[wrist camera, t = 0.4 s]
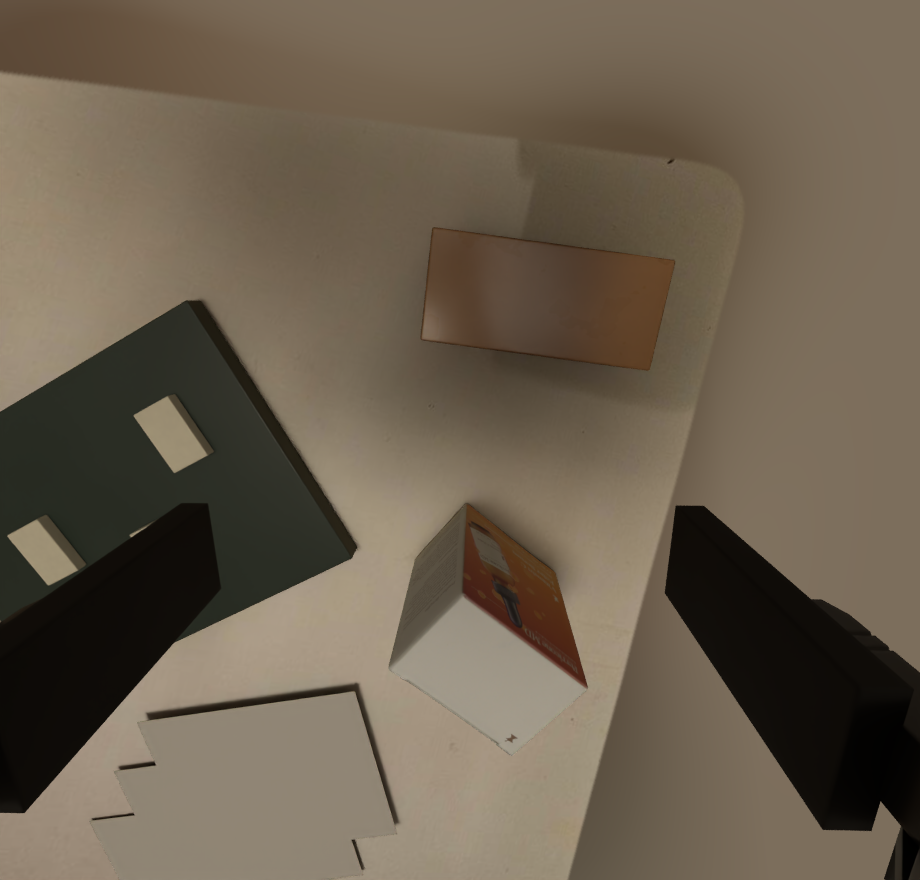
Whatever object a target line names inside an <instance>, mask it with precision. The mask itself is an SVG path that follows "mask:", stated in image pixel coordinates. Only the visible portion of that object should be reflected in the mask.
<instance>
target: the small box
mask: <svg viewBox="0 0 920 880" xmlns="http://www.w3.org/2000/svg"><path fill="white" fill-rule="evenodd" d="M389 670H390V671H391V672H393V673H394V674H396V675H397V676H399V677H400V678H401V679H403V680H405V681H407V682H409V683H410V684H412V685H413V686H415V687H416V688H418V689H419V690H421V691H422V692H423V693H425V694H426V695H428V696H429V697H431V698H432V699H434V700H435V701H437V702H438V703H440V704H441V705H442V706H444V707H445V708H447V709H448V710H449V711H451V712H452V713H454V714H455V715H457V716H458V717H460V718H461V719H462V720H464V721H465V722H466V723H468V724H469V725H471V726H472V727H474V728H475V729H476V730H478V731H479V732H481V733H482V734H483V735H485V736H486V737H487V738H489V739H490V740H491V741H493V742H494V743H495V744H496V745H497V746H499V747H500V748H501V749H503V750H504V751H505V752H506V753H508V754H509V755H510V756H512V755H514V754H515V753H516V752H517V751H518V750H520V749H521V748H522V747H523V746H524V745H525V744H527V743H528V742H529V741H530V740H531V739H532V738H533V737H535V736H536V735H537V734H538V733H539V732H540V731H541V730H543V729H544V728H545V727H546V726H547V725H548V724H549V723H551V722H552V721H553V720H554V719H555V718H556V717H557V716H558V715H560V714H561V713H562V712H563V711H564V710H565V709H566V708H568V707H569V706H570V705H571V704H572V703H573V702H574V701H575V700H577V699H578V698H579V697H580V696H581V695H582V694H583V693H584V692H586V690H587V688H588V686H587V682H586V679H585V675H584V672H583V669H582V665H581V662H580V658H579V654H578V650H577V647H576V644H575V640H574V636H573V633H572V630H571V626H570V623H569V619H568V615H567V612H566V608H565V604H564V601H563V598H562V594H561V591H560V587H559V583H558V580H557V576H556V573H555V572H554V571H553V570H551V569H550V568H548V567H547V566H546V565H544V564H543V563H541V562H540V561H539V560H537V559H536V558H535V557H534V556H532V555H531V554H530V553H528V552H527V551H526V550H525V549H523V548H522V547H521V546H520V545H518V544H517V543H516V542H515V541H513V540H512V539H511V538H510V537H508V536H507V535H506V534H505V533H504V532H502V531H501V530H500V529H499V528H497V527H496V526H495V525H494V524H492V523H491V522H490V521H489V520H487V519H486V518H485V517H483V516H482V515H481V514H480V513H478V512H477V511H476V510H475V509H474V508H472V507H471V506H470V505H468V504H466V505H465V506H464V507H463V508H462V509H461V510H460V511H459V512H458V513H457V514H456V515H455V516H454V517H453V518H452V519H451V521H450V522H449V523H448V524H447V525H446V526H445V527H444V528H443V529H442V530H441V531H440V532H439V534H438V535H437V536H436V537H435V538H434V539H433V540H432V541H431V542H430V543H429V544H428V546H427V547H426V548H425V549H424V550H423V551H422V552H421V553H420V554H419V556H418V557H417V558H416V559H415V562H414V566H413V570H412V574H411V578H410V582H409V586H408V590H407V594H406V598H405V602H404V606H403V610H402V615H401V618H400V623H399V627H398V631H397V635H396V639H395V643H394V647H393V651H392V655H391V659H390V663H389Z"/></svg>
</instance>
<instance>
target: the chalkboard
mask: <svg viewBox="0 0 920 880" xmlns="http://www.w3.org/2000/svg"><path fill="white" fill-rule="evenodd" d="M173 394H175V395H176V396H177V398H178V399H179V401H180V402H181V404H182V405H183V406H184V408H185V409H186V411H187V412H188V414H189V415H190V417H191V418H192V420H193V421H194V423H195V424H196V426H197V427H198V429H199V430H200V431H201V433H202V434H203V436H204V437H205V439H206V440H207V442H208V443H209V445H210V446H211V448H212V449H213V451H214V452H213V453H211V454H209V455H208V456H206V457H204V458H202V459H200V460H198V461H197V462H195V463H193V464H191V465H189V466H187V467H185V468H184V469H182V470H180V471H178V472H176V473H174V472H173V471H172V470H171V468H170V467H169V465H168V464H167V462H166V461H165V460H164V458H163V457H162V455H161V454H160V453H159V451H158V450H157V448H156V447H155V446H154V444H153V443H152V441H151V440H150V439H149V437H148V436H147V434H146V433H145V431H144V430H143V429H142V427H141V426H140V424H139V423H138V422H137V420H136V419H135V417H134V415H135V414H137V413H138V412H140V411H142V410H144V409H145V408H147V407H149V406H151V405H152V404H154V403H156V402H158V401H159V400H161V399H163V398H165V397H166V396H169V395H173ZM181 503H208V506H209V513H210V519H211V525H212V532H213V538H214V545H215V551H216V557H217V564H218V570H219V577H220V583H221V590H220V591H219V592H218V593H217V594H216V595H215V597H214V598H213V599H212V600H211V601H210V602H209V603H208V605H207V606H206V607H205V608H204V609H203V610H202V611H201V612H200V614H199V615H198V616H197V617H196V618H195V619H194V620H193V622H192V623H191V624H190V625H189V626H188V627H187V628H186V630H185V631H184V632H183V633H182V634H181V635H180V636H179V638H178V639H177V640H176V641H179V640H181V639H183V638H185V637H187V636H189V635H191V634H193V633H195V632H198V631H200V630H202V629H204V628H206V627H208V626H210V625H212V624H214V623H217V622H219V621H221V620H223V619H225V618H227V617H229V616H231V615H233V614H236V613H238V612H240V611H242V610H244V609H246V608H248V607H250V606H252V605H254V604H257V603H259V602H261V601H263V600H265V599H267V598H269V597H271V596H273V595H276V594H278V593H280V592H282V591H284V590H286V589H288V588H290V587H292V586H295V585H297V584H299V583H301V582H303V581H305V580H307V579H309V578H311V577H314V576H316V575H318V574H320V573H322V572H324V571H326V570H328V569H330V568H333V567H335V566H337V565H339V564H341V563H343V562H345V561H347V560H349V559H351V558H352V557H353V555H354V553H355V551H356V549H357V547H356V545H355V543H354V542H353V540H352V539H351V537H350V536H349V534H348V532H347V531H346V529H345V528H344V526H343V525H342V523H341V521H340V520H339V518H338V517H337V515H336V513H335V512H334V510H333V509H332V507H331V506H330V504H329V502H328V501H327V499H326V498H325V496H324V495H323V493H322V491H321V490H320V488H319V487H318V485H317V484H316V482H315V480H314V479H313V477H312V476H311V474H310V472H309V471H308V469H307V468H306V466H305V465H304V463H303V461H302V460H301V458H300V457H299V455H298V454H297V452H296V450H295V449H294V447H293V446H292V444H291V443H290V441H289V439H288V438H287V436H286V435H285V433H284V432H283V430H282V428H281V427H280V425H279V424H278V422H277V420H276V419H275V417H274V416H273V414H272V413H271V411H270V409H269V408H268V406H267V405H266V403H265V402H264V400H263V398H262V397H261V395H260V394H259V392H258V391H257V389H256V387H255V386H254V384H253V383H252V381H251V379H250V378H249V376H248V375H247V373H246V372H245V370H244V368H243V367H242V365H241V364H240V362H239V361H238V359H237V357H236V356H235V354H234V353H233V351H232V350H231V348H230V346H229V345H228V343H227V342H226V340H225V338H224V337H223V335H222V334H221V332H220V331H219V329H218V327H217V326H216V324H215V323H214V321H213V320H212V318H211V316H210V315H209V313H208V312H207V310H206V309H205V307H204V305H203V304H202V302H201V301H185V302H183V303H181V304H180V305H178V306H176V307H175V308H173V309H171V310H170V311H168V312H166V313H165V314H163V315H161V316H159V317H158V318H156V319H154V320H153V321H151V322H149V323H148V324H146V325H144V326H143V327H141V328H139V329H138V330H136V331H134V332H133V333H131V334H129V335H128V336H126V337H124V338H123V339H121V340H119V341H118V342H116V343H114V344H113V345H111V346H109V347H108V348H106V349H104V350H103V351H101V352H99V353H98V354H96V355H94V356H93V357H91V358H89V359H88V360H86V361H84V362H83V363H81V364H79V365H78V366H76V367H74V368H73V369H71V370H69V371H68V372H66V373H64V374H63V375H61V376H59V377H58V378H56V379H54V380H53V381H51V382H49V383H48V384H46V385H44V386H43V387H41V388H39V389H38V390H36V391H34V392H33V393H31V394H29V395H28V396H26V397H24V398H23V399H21V400H19V401H18V402H16V403H14V404H13V405H11V406H9V407H8V408H6V409H4V410H3V411H1V412H0V621H1V622H2V621H3V620H5V619H6V618H8V617H9V616H11V615H12V614H14V613H15V612H17V611H18V610H19V609H21V608H22V607H25V606H27V605H29V604H31V603H33V602H35V601H37V600H40V599H42V598H44V597H45V596H47V595H48V594H50V593H51V592H52V591H54V590H55V589H57V588H58V587H60V586H61V585H63V584H64V583H66V582H67V581H68V580H70V579H71V578H73V577H74V576H76V575H77V574H79V573H80V572H82V571H83V570H84V569H86V568H87V567H89V566H90V565H92V564H93V563H95V562H96V561H98V560H99V559H101V558H102V557H103V556H105V555H106V554H108V553H109V552H111V551H112V550H114V549H115V548H117V547H118V546H119V545H121V544H122V543H124V542H125V541H127V540H128V539H130V538H131V537H130V534H132V533H133V532H135V531H136V530H138V529H140V528H141V527H143V526H145V525H147V524H149V523H151V522H153V521H155V520H157V519H159V518H160V517H162V516H163V515H165V514H166V513H168V512H169V511H170V510H172V509H173V508H175V507H176V506H178V505H179V504H181ZM44 515H48V517H49V518H50V519H51V520H52V522H53V523H54V524H55V525H56V527H57V528H58V529H59V530H60V532H61V533H62V534H63V535H64V537H65V538H66V539H67V540H68V542H69V543H70V544H71V545H72V547H73V548H74V549H75V550H76V552H77V553H78V554H79V555H80V557H81V558H82V559H83V560H84V562H85V563H86V566H84V567H83V568H81V569H80V570H78V571H76V572H74V573H72V574H71V575H69V576H67V577H65V578H63V579H61V580H59V581H57V582H55V583H53V584H51V585H47V584H46V582H45V581H44V580H43V579H42V578H41V576H40V575H39V574H38V573H37V572H36V570H35V569H34V568H33V567H32V566H31V564H30V563H29V562H28V561H27V560H26V558H25V557H24V556H23V555H22V554H21V552H20V551H19V550H18V549H17V548H16V546H15V545H14V544H13V543H12V542H11V540H10V539H9V538H8V537H7V536H8V535H9V534H11V533H13V532H14V531H16V530H18V529H20V528H22V527H23V526H25V525H27V524H29V523H31V522H33V521H34V520H36V519H38V518H40V517H42V516H44ZM176 641H175V642H176Z"/></svg>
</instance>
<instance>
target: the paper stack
mask: <svg viewBox="0 0 920 880" xmlns="http://www.w3.org/2000/svg"><path fill="white" fill-rule="evenodd" d="M137 724H138V726H139V728H140V731H141V733H142V735H143V737H144V739H145V742H146V744H147V746H148V748H149V750H150V753H151V755H152V757H153V759H154V762H155V764H156V766H148V767H141V768H134V769H126V770H119V771H114V773H115V775H116V777H117V779H118V781H119V784H120V786H121V788H122V790H123V792H124V794H125V796H126V798H127V800H128V802H129V804H130V806H131V808H132V810H133V813H134V815H132V816H124V817H116V818H108V819H100V820H92V821H89V822H90V824H91V826H92V828H93V830H94V831H95V833H96V835H97V837H98V839H99V841H100V843H101V845H102V847H103V849H104V851H105V853H106V855H107V857H108V858H109V860H110V862H111V864H112V866H113V868H114V870H115V872H116V874H117V876H118V878H119V880H325V879H334V878H342V877H351V876H360V875H363V873H362V870H361V867H360V864H359V861H358V858H357V855H356V851H355V848H354V845H353V842H352V840H353V839H362V838H370V837H379V836H387V835H395V834H397V831H396V828H395V825H394V821H393V818H392V815H391V811H390V808H389V805H388V801H387V798H386V794H385V791H384V788H383V784H382V781H381V778H380V774H379V771H378V768H377V764H376V761H375V758H374V754H373V751H372V747H371V744H370V741H369V737H368V734H367V731H366V727H365V724H364V721H363V717H362V714H361V711H360V707H359V704H358V700H357V697H356V694H355V691H352V692H345V693H338V694H331V695H324V696H317V697H310V698H303V699H296V700H289V701H282V702H275V703H268V704H261V705H254V706H247V707H240V708H233V709H226V710H219V711H212V712H204V713H197V714H190V715H183V716H176V717H169V718H162V719H155V720H148V721H141V722H137Z"/></svg>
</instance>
